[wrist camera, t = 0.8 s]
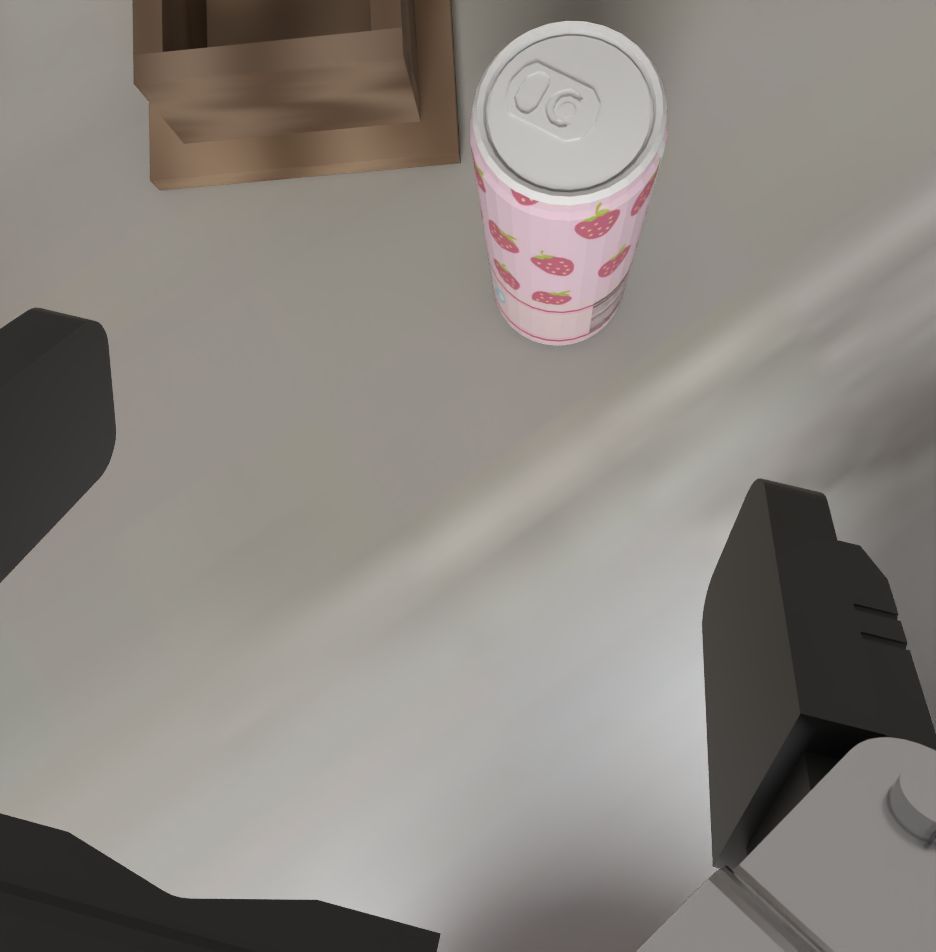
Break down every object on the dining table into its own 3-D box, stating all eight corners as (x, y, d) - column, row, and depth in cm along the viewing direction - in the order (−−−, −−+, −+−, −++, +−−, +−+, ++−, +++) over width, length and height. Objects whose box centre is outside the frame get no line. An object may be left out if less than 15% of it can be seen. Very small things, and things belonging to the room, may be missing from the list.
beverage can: (498, 220, 40) (472, 8, 25) (626, 224, 39) (679, 11, 24) (489, 344, 39) (457, 204, 24) (619, 351, 39) (669, 211, 24)
